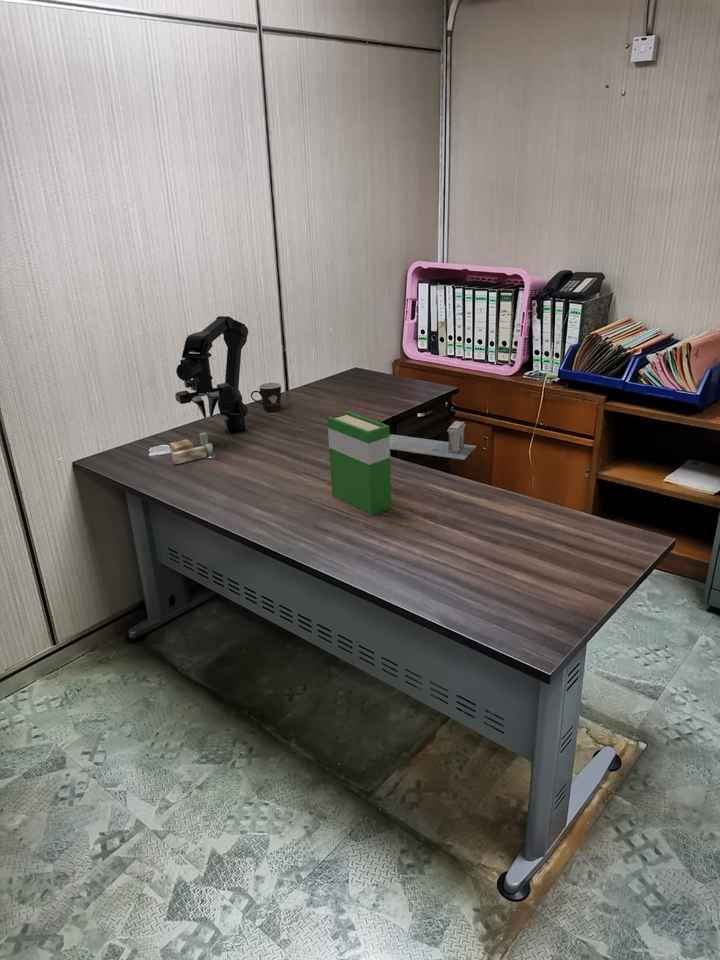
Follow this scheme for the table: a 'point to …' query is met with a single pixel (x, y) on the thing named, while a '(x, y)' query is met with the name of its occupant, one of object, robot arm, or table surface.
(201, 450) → the gate rail
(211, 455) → the metal door knob
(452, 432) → the slab with upright peg
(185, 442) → the oak block
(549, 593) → the table surface
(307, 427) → the table surface
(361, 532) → the table surface
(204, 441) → the post
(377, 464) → the hardback book
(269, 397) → the coffee mug
